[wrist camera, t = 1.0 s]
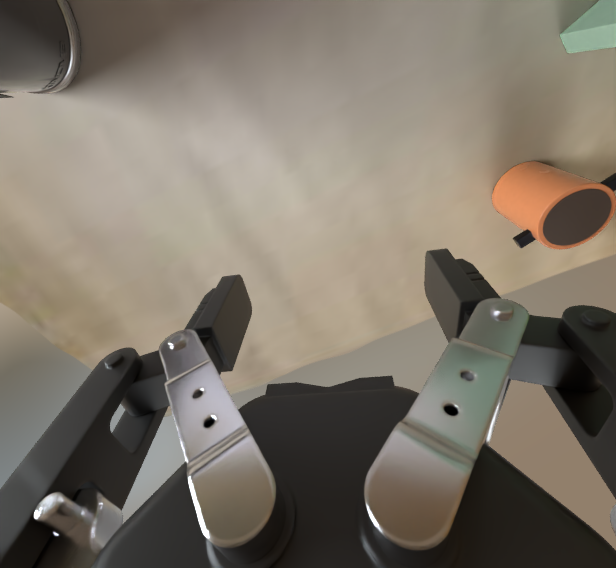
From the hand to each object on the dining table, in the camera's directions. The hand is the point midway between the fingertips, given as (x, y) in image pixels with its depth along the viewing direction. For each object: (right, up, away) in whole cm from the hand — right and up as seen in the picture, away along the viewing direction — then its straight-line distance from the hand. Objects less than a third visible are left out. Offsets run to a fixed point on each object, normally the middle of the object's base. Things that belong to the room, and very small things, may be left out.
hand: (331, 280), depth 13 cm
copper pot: (+20, +9, +16) cm, 27 cm away
